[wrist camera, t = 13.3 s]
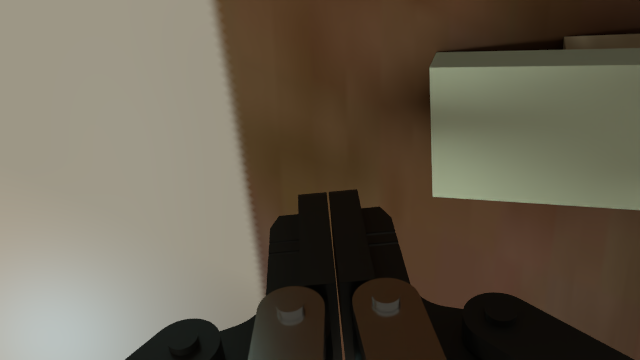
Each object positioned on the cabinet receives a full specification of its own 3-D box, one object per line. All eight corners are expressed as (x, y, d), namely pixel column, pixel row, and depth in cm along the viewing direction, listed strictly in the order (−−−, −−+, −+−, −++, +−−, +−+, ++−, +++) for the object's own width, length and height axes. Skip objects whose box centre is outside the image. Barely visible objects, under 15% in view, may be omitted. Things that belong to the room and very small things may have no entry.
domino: (436, 52, 19) (783, 44, 16) (438, 175, 22) (739, 191, 18) (429, 67, 18) (805, 62, 15) (432, 196, 20) (755, 217, 17)
